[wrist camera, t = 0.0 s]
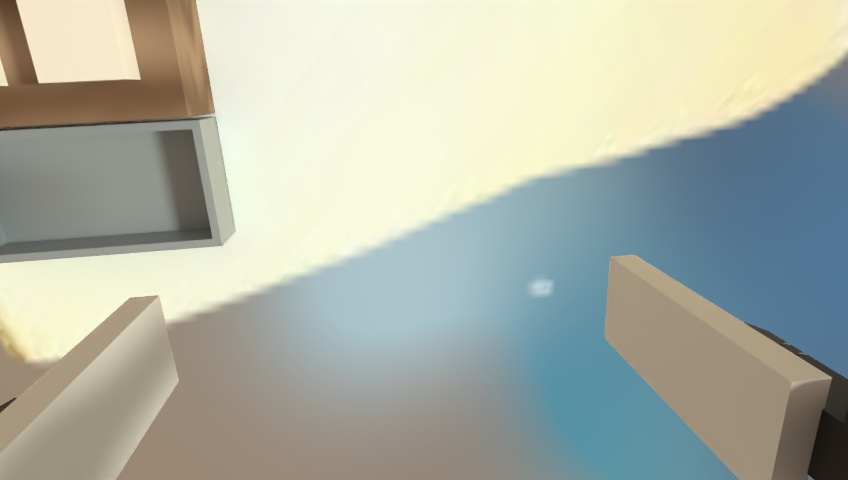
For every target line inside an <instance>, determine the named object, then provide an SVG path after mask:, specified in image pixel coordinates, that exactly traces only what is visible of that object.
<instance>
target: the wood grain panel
mask: <svg viewBox="0 0 848 480" xmlns="http://www.w3.org/2000/svg"><path fill="white" fill-rule="evenodd" d="M124 3H125V8H126V13H127V17H128V22H129V27H130V31H131V36H132V41H133V45H134V50H135V55H136V59H137V64H138V69H139V73H140V78H141V80H124V81H103V82H81V83H60V84H54V83H39V82H38V79H37V75H36V71H35V68H34V64H33V61H32V57H31V53H30V50H29V46H28V42H27V39H26V35H25V31H24V28H23V24H22V20H21V17H20V13H19V10H18V6H17V2H16V0H0V59H1V62H2V66H3V69H4V73H5V76H6V79H7V83H8V86H0V127H18V126H37V125H55V124H73V123H92V122H110V121H129V120H147V119H166V118H184V117H193V116H199V115H205V114H211V113H215V110H214V104H213V98H212V93H211V87H210V81H209V75H208V69H207V64H206V58H205V52H204V46H203V41H202V35H201V29H200V23H199V17H198V12H197V6H196V0H124Z"/></svg>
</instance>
